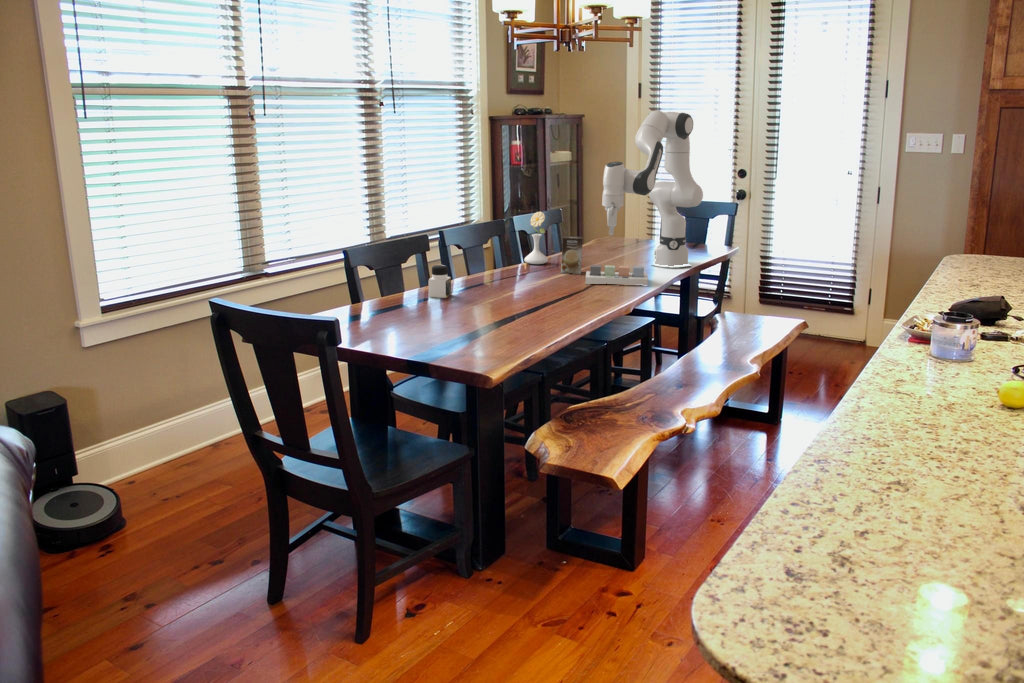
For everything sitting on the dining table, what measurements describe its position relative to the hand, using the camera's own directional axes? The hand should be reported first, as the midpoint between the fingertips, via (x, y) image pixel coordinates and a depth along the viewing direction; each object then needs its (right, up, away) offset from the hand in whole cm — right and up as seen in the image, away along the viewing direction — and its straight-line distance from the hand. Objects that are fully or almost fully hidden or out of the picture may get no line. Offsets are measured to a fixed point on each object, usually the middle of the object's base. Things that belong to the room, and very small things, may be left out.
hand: (611, 234), depth 362 cm
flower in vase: (-30, -8, +44) cm, 54 cm away
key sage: (0, -17, +5) cm, 18 cm away
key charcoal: (-6, -17, +5) cm, 19 cm away
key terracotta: (+6, -17, +4) cm, 19 cm away
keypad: (+3, -20, +5) cm, 20 cm away
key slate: (+12, -18, +4) cm, 22 cm away
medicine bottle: (-70, -27, -25) cm, 79 cm away
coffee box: (-15, -14, +24) cm, 32 cm away
